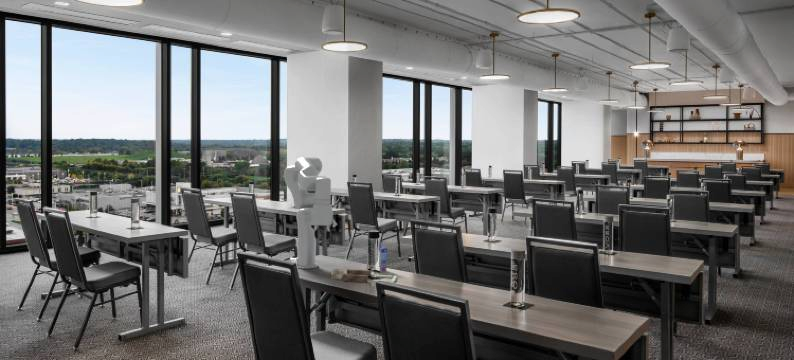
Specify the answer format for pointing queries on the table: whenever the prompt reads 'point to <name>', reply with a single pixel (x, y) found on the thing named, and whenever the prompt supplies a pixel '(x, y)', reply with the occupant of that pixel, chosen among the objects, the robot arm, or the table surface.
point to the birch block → (337, 274)
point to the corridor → (357, 275)
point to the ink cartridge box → (381, 258)
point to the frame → (386, 277)
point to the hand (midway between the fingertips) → (322, 238)
